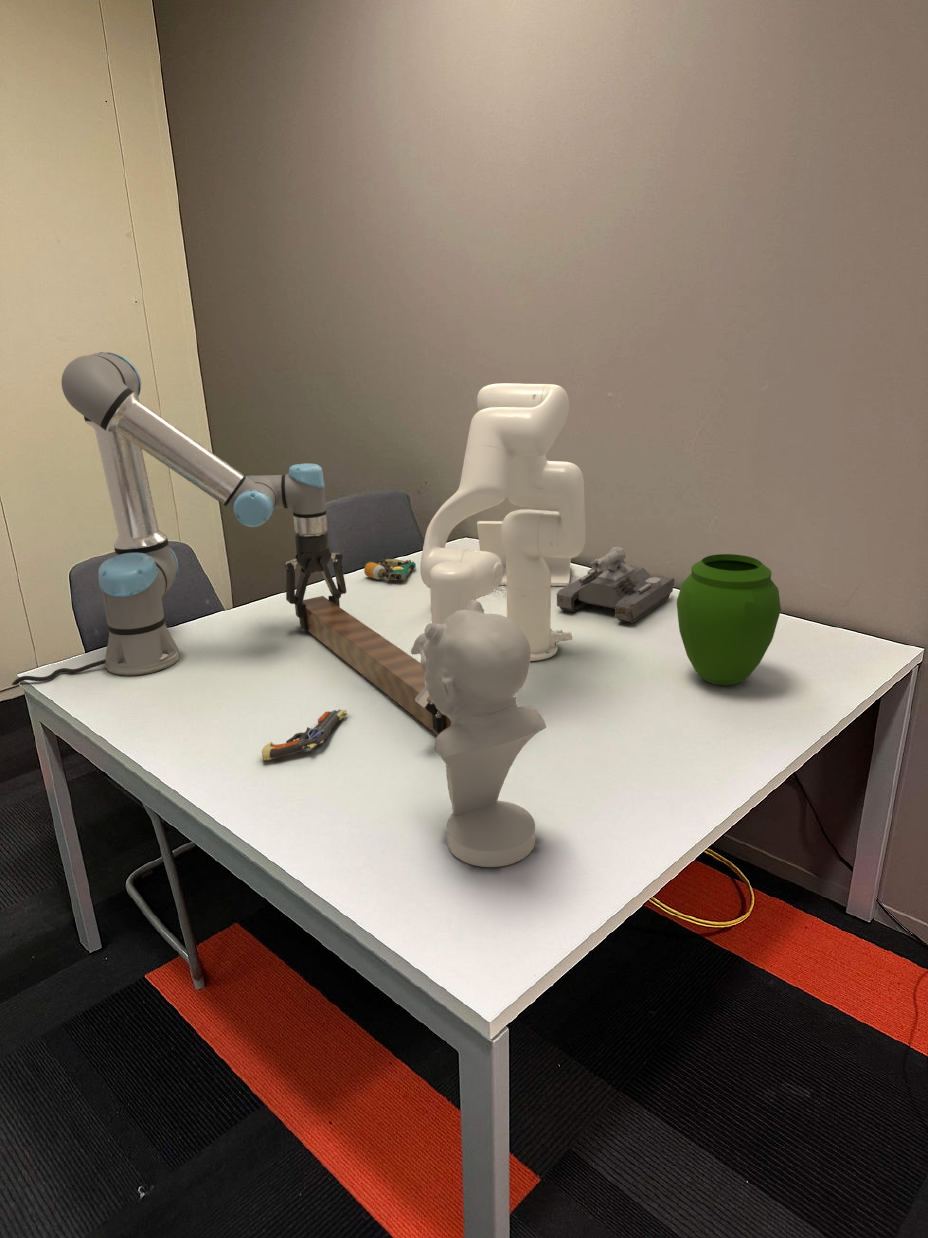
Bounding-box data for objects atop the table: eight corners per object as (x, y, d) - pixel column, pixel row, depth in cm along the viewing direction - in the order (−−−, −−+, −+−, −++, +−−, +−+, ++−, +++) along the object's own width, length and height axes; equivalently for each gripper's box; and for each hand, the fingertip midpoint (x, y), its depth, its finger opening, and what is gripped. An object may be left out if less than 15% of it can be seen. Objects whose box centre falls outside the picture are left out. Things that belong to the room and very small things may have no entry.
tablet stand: (569, 585, 229) (570, 524, 223) (476, 584, 232) (475, 523, 226) (570, 566, 246) (571, 508, 240) (484, 564, 249) (483, 507, 243)
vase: (783, 670, 175) (796, 555, 166) (758, 707, 159) (770, 583, 151) (690, 652, 185) (697, 543, 176) (657, 685, 169) (664, 568, 161)
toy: (603, 584, 229) (605, 530, 224) (673, 597, 218) (677, 540, 213) (555, 612, 210) (556, 553, 205) (630, 627, 199) (633, 566, 194)
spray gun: (384, 565, 253) (429, 572, 247) (354, 578, 239) (401, 586, 233) (384, 551, 252) (430, 558, 246) (354, 564, 237) (402, 571, 232)
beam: (488, 739, 149) (487, 708, 147) (455, 749, 146) (453, 718, 144) (325, 618, 209) (322, 595, 207) (299, 624, 206) (296, 601, 204)
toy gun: (256, 750, 145) (311, 748, 142) (297, 707, 162) (347, 704, 160) (259, 765, 145) (314, 762, 143) (300, 720, 163) (349, 718, 161)
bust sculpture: (481, 772, 140) (476, 569, 128) (565, 848, 120) (569, 617, 108) (392, 800, 134) (378, 588, 121) (465, 886, 114) (457, 642, 101)
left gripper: (344, 523, 203) (351, 613, 211) (264, 535, 194) (274, 629, 202) (357, 529, 197) (363, 622, 205) (275, 542, 188) (285, 639, 196)
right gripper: (486, 617, 151) (488, 706, 158) (398, 639, 143) (405, 733, 150) (509, 630, 145) (511, 723, 152) (420, 654, 137) (425, 751, 144)
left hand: (319, 625), depth 204 cm, fingers closed on beam, 7 cm apart
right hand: (458, 727), depth 151 cm, fingers closed on beam, 6 cm apart
